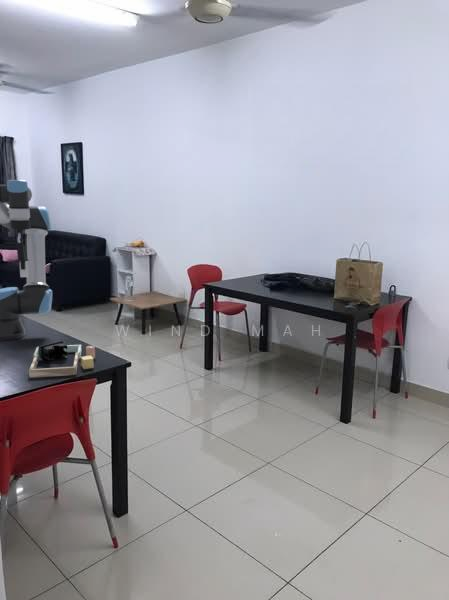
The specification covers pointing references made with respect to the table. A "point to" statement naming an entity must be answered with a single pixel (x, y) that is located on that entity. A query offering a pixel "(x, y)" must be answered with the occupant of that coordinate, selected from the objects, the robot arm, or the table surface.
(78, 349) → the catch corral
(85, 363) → the mustard block
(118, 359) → the table surface
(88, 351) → the pinkish brown cylinder
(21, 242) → the robot arm
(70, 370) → the beige wooden tray
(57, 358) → the black lumpy piece
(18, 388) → the table surface
